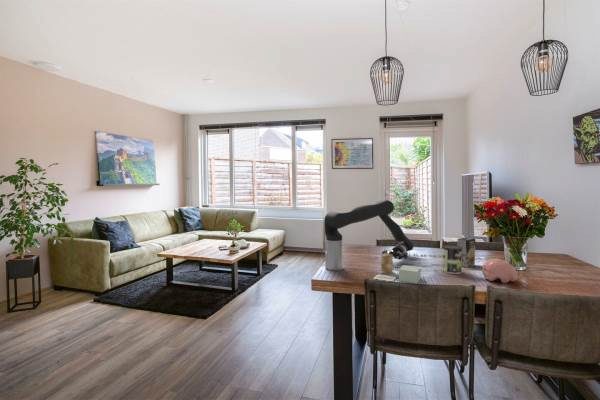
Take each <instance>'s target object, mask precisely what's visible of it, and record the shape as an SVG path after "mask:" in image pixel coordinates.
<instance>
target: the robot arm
mask: <svg viewBox="0 0 600 400" xmlns="http://www.w3.org/2000/svg"><path fill="white" fill-rule="evenodd" d="M394 209H395V204H394V203H393V202H392V201H390V200H385V199H384V200H379V201H377V202H375V204H365V205H360V206H356V207H354V208H353V209H351V210H349V211H347V212H335V211H329V212H327V213H326V215H325V216H324V220H323V222H324V224H323V225H324V234H325V237H326V251H325V253H324V256H325V257H324V263H325V264H324V265H325V268H324V269H326V270H329V271H341V270H342V269H343V235H342V234H341V233H340V232H339V230H338V229H342V228H344V227H347V226H350V225H352V224H356V223H361V222H364V221H368V220H370V219H373V218H377V217H379V219H381V221H382V222H383V224H384V225H386V227H387V229H388V230H389V232H390V233H391V235H392V237H393V238H394V240H395V241H396V242H398V243H396V245H395V246H394V247H392V248H391V250H386V249H385V250H384V251H382V254H393V259H397V260H399V261H400V260H402V259H404V260H406V259H408V258H409V257H408V254H409V253H408V252H410V251H412V250H414V244H413V242H412V241H411V239H410V238H408V237H407V235H405V233H404V231H403V230H402V228H401V226H400V225H399V224H398V223H397V222H396V221H394V220H393V219H392V218H391V217H390V214H392V213H393V212H394ZM382 254H381V255H382Z"/></svg>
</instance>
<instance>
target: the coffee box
mask: <svg viewBox="0 0 600 400" xmlns="http://www.w3.org/2000/svg"><path fill="white" fill-rule="evenodd" d="M456 246H460V247H462V265H461V267H462V268H463V267H464V268H469V267H472V266H475V264H476V263H475V262H476V238H473V237H466V236H465V237H460V238H457V245H456Z"/></svg>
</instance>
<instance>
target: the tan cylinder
mask: <svg viewBox="0 0 600 400" xmlns="http://www.w3.org/2000/svg"><path fill="white" fill-rule="evenodd" d="M393 259H394V257H393V254H381V255H380V261H381V264H380V268H381V269H380V273H381V274H386V275H391V274H392V273H393V272H394V271H393V263H394V260H393Z"/></svg>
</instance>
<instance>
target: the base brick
mask: <svg viewBox="0 0 600 400" xmlns="http://www.w3.org/2000/svg"><path fill="white" fill-rule="evenodd" d="M421 269H422V268H421V267H420V266H414V265H413V266H412V265H404V264H403V265H401V267H400V268H398V281H399V282H404V283H410V284H411V283H412V284H418V283H419V281H420V280H421V279H420V278H421V275H422V273H421V271H422V270H421Z"/></svg>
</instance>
